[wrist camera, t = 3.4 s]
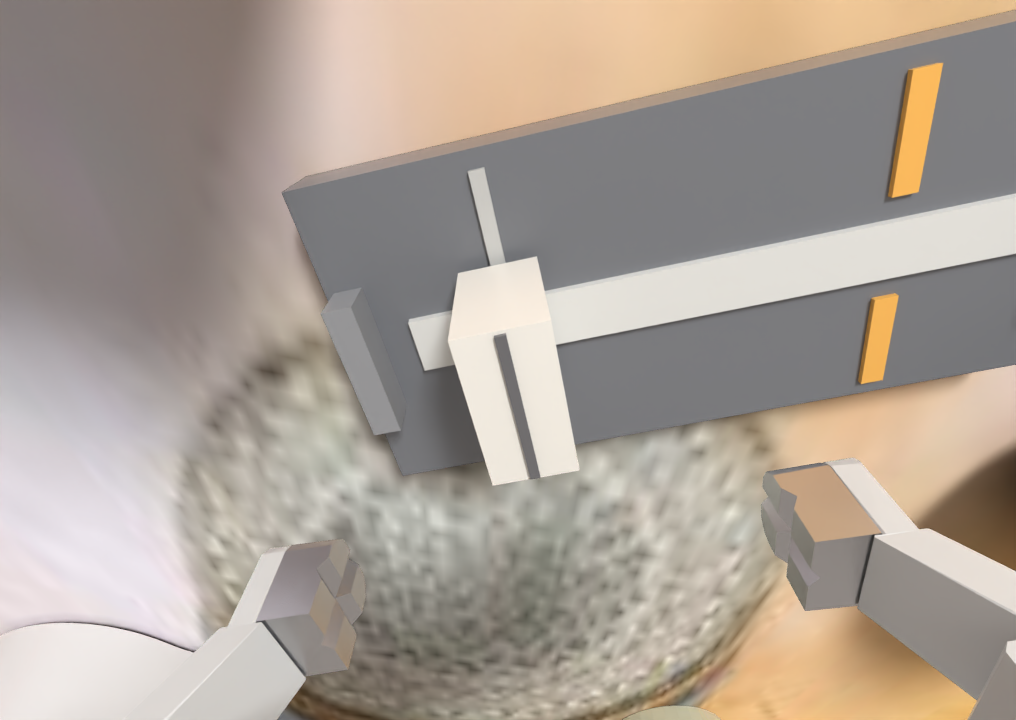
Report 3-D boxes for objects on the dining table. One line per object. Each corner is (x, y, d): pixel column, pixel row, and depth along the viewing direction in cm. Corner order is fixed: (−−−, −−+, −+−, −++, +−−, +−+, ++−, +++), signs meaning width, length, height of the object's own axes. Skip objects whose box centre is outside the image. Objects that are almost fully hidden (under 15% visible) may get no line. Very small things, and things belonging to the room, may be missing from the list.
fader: (561, 383, 19) (580, 473, 15) (492, 396, 19) (492, 488, 15) (536, 256, 17) (551, 322, 12) (457, 273, 17) (447, 343, 13)
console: (1002, 328, 22) (1097, 379, 18) (410, 439, 24) (396, 504, 21) (1109, -13, 16) (1281, -31, 12) (305, 176, 18) (261, 205, 15)
